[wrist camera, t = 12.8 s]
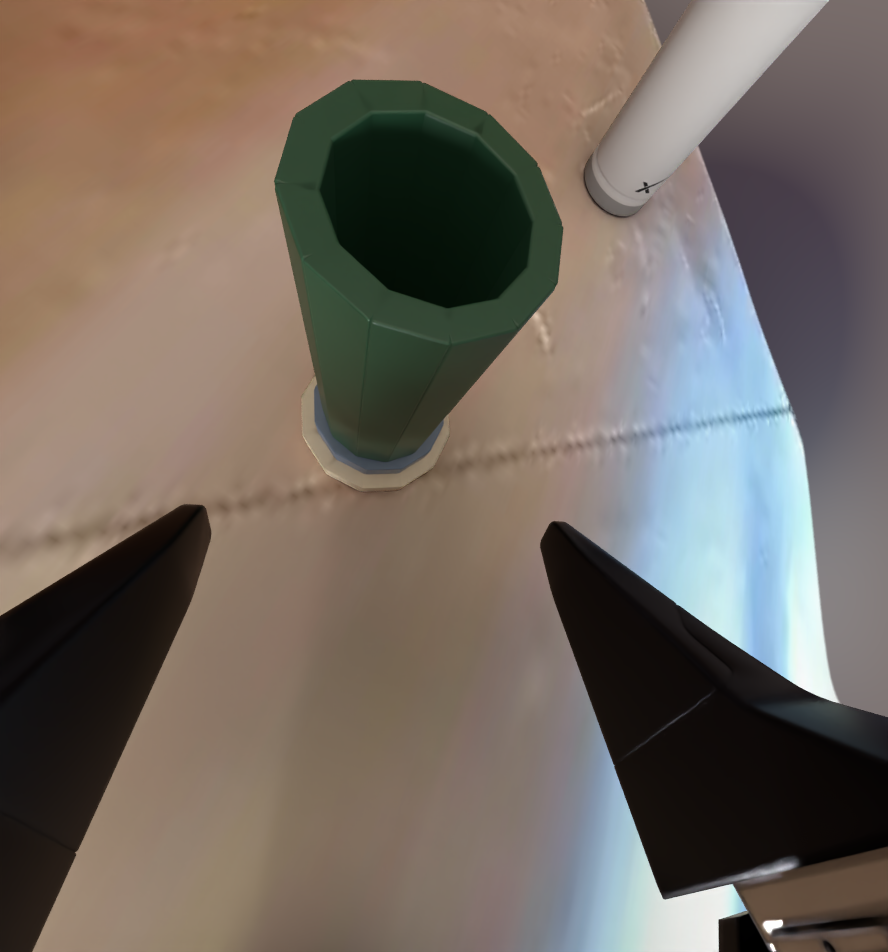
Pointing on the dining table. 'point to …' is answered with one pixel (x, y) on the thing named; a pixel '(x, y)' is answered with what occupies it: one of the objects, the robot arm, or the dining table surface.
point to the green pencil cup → (409, 253)
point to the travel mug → (689, 93)
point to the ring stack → (362, 470)
